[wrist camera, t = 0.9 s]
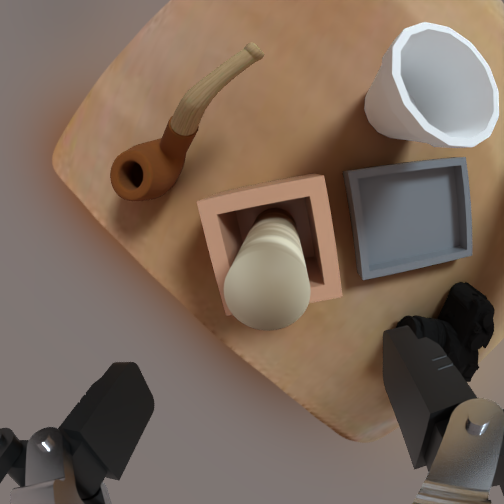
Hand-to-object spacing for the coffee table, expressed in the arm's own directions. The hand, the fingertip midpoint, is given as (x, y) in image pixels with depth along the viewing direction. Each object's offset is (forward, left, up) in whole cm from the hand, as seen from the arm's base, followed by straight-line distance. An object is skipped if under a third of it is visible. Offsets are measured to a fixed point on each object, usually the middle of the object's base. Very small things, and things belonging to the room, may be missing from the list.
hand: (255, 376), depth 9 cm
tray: (-15, +1, -24) cm, 28 cm away
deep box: (0, 0, -24) cm, 24 cm away
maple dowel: (0, 0, -23) cm, 23 cm away
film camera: (-17, +16, -24) cm, 34 cm away
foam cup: (-15, -10, -24) cm, 30 cm away
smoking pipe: (+6, -12, -24) cm, 27 cm away
